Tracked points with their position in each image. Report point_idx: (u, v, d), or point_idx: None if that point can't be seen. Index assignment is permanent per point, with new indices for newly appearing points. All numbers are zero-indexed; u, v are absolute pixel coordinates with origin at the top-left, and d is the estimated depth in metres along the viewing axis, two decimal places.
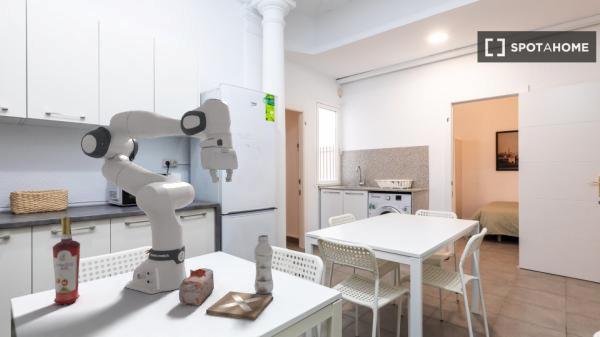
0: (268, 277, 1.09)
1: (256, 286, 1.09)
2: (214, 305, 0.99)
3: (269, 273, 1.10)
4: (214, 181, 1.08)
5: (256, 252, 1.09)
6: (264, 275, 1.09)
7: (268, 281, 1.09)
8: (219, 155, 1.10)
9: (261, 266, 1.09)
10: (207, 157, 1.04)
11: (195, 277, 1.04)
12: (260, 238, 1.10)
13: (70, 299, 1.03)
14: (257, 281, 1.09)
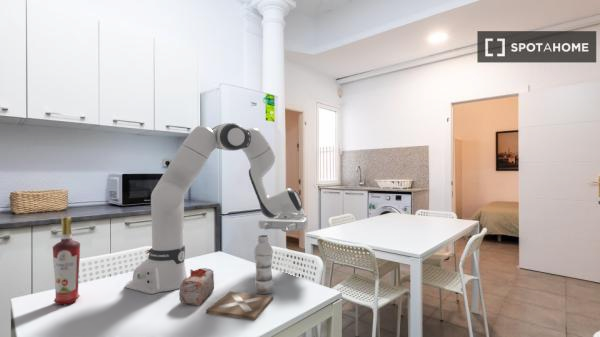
0: (268, 277, 1.09)
1: (256, 286, 1.09)
2: (214, 305, 0.99)
3: (269, 273, 1.10)
4: (290, 228, 1.22)
5: (256, 252, 1.09)
6: (264, 275, 1.09)
7: (268, 281, 1.09)
8: None
9: (261, 266, 1.09)
10: (306, 226, 1.29)
11: (195, 277, 1.04)
12: (260, 238, 1.10)
13: (70, 299, 1.03)
14: (257, 281, 1.09)
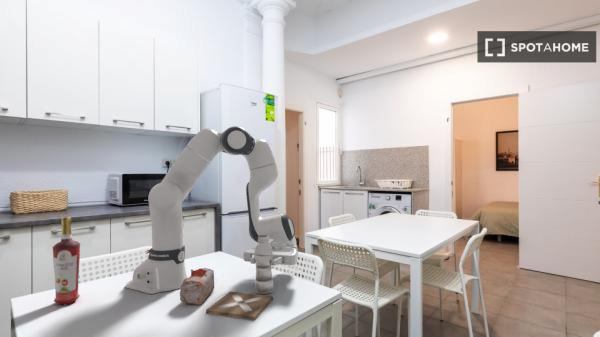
0: (268, 277, 1.09)
1: (256, 286, 1.09)
2: (214, 305, 0.99)
3: (269, 273, 1.10)
4: (275, 263, 1.09)
5: (256, 252, 1.09)
6: (264, 275, 1.09)
7: (268, 281, 1.09)
8: None
9: (261, 266, 1.09)
10: (296, 259, 1.16)
11: (196, 277, 1.04)
12: (260, 238, 1.10)
13: (70, 299, 1.03)
14: (257, 281, 1.09)
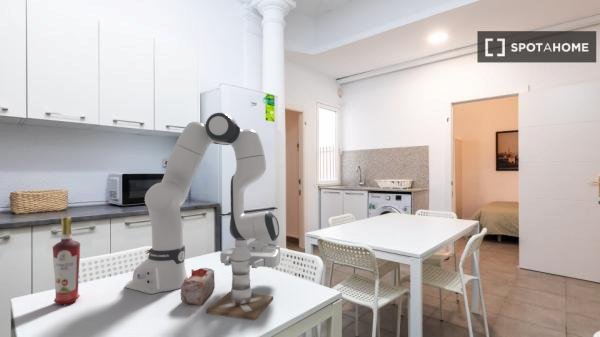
0: (245, 285, 0.99)
1: (232, 295, 0.98)
2: (214, 305, 0.99)
3: (247, 281, 0.99)
4: (256, 265, 0.99)
5: (232, 257, 0.99)
6: (241, 283, 0.98)
7: (245, 290, 0.98)
8: None
9: (238, 273, 0.98)
10: (278, 261, 1.05)
11: (197, 277, 1.04)
12: (237, 242, 0.99)
13: (70, 299, 1.03)
14: (233, 289, 0.99)
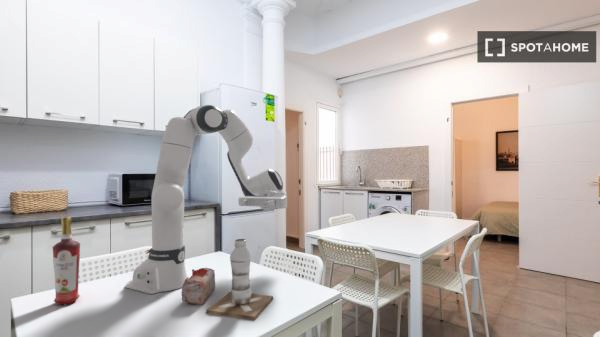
0: (245, 285, 0.99)
1: (232, 295, 0.98)
2: (214, 305, 0.99)
3: (246, 281, 0.99)
4: (268, 203, 1.23)
5: (232, 258, 0.98)
6: (240, 283, 0.98)
7: (245, 290, 0.98)
8: None
9: (238, 273, 0.98)
10: (285, 203, 1.29)
11: (197, 277, 1.04)
12: (236, 242, 0.99)
13: (70, 299, 1.03)
14: (233, 290, 0.99)
